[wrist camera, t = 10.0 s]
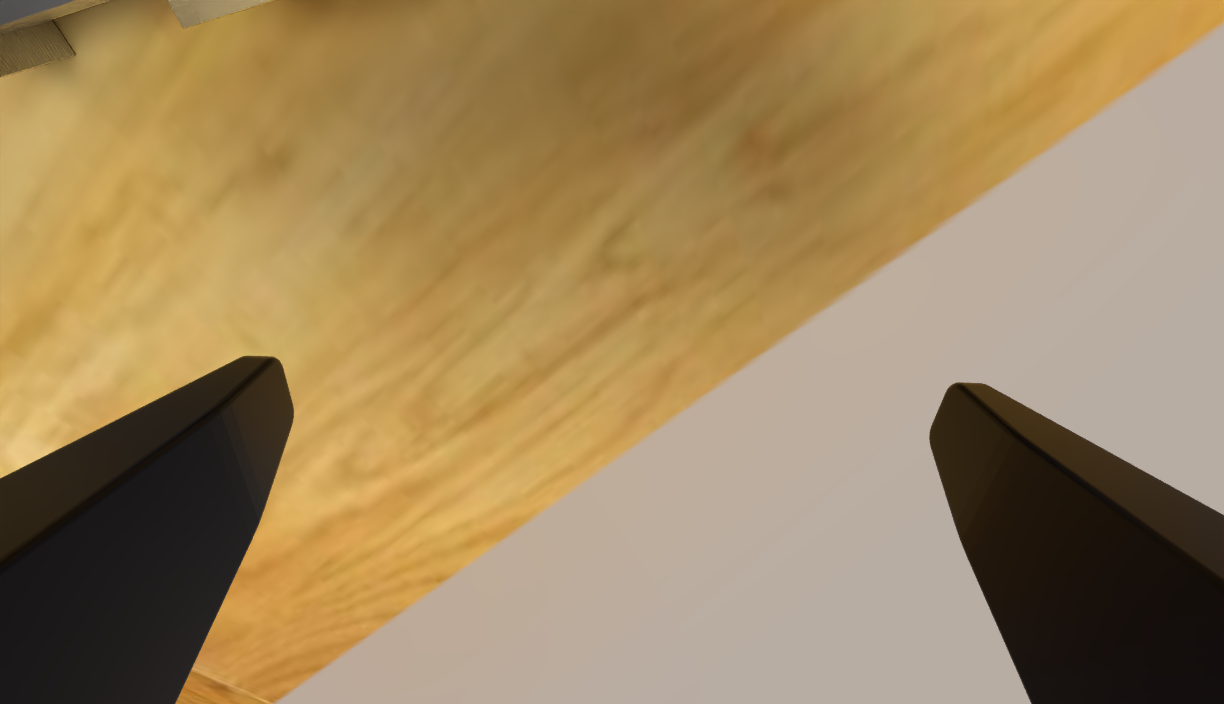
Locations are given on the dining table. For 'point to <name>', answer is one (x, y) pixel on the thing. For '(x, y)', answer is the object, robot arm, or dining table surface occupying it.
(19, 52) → the pipe valve
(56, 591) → the robot arm
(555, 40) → the dining table surface
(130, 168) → the dining table surface
